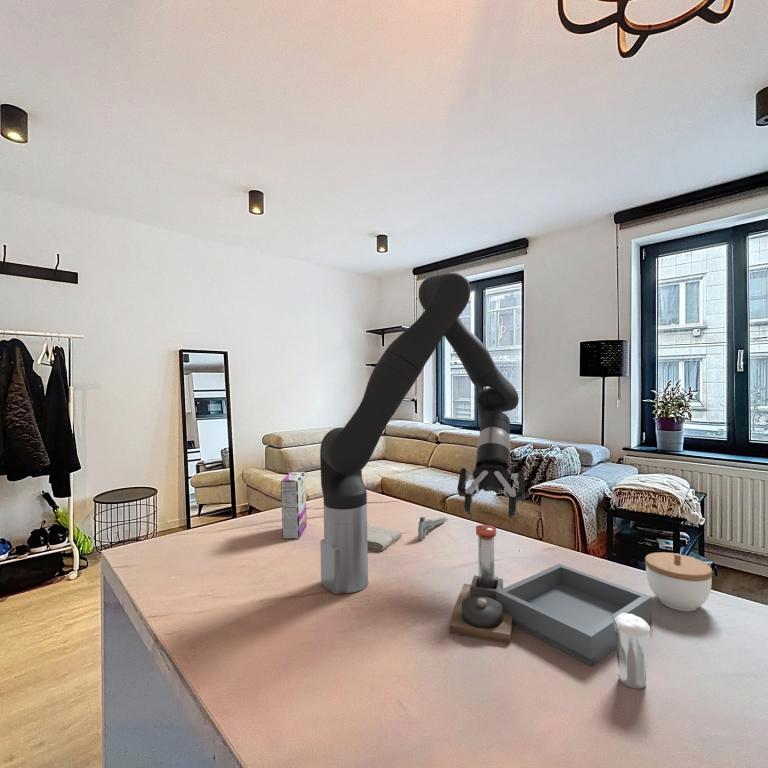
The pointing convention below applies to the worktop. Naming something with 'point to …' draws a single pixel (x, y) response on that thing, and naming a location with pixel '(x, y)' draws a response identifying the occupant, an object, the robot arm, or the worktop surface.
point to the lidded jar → (678, 580)
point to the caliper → (428, 525)
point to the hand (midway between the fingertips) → (489, 514)
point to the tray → (572, 610)
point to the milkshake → (632, 649)
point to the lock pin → (486, 555)
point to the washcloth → (381, 537)
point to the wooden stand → (481, 613)
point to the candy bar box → (293, 505)
